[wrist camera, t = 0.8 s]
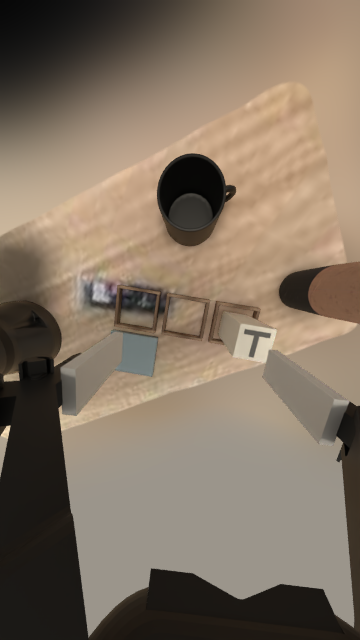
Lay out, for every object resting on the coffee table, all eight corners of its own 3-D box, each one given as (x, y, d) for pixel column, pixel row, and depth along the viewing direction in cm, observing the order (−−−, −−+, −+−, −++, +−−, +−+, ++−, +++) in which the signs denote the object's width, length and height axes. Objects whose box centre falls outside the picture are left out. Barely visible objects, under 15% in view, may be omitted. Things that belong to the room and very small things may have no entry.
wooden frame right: (208, 340, 36) (209, 342, 34) (216, 301, 34) (217, 301, 33) (247, 346, 36) (249, 349, 34) (257, 307, 34) (260, 308, 33)
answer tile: (110, 366, 38) (108, 369, 37) (113, 329, 36) (111, 330, 35) (153, 374, 38) (152, 376, 37) (158, 337, 36) (157, 338, 35)
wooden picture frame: (117, 324, 36) (114, 326, 35) (120, 285, 34) (117, 284, 33) (155, 331, 36) (154, 333, 35) (161, 291, 34) (159, 292, 33)
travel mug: (292, 262, 32) (457, 226, 12) (325, 281, 32) (535, 275, 13) (269, 297, 34) (384, 314, 14) (301, 315, 34) (456, 356, 14)
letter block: (217, 334, 36) (232, 358, 24) (222, 310, 35) (241, 323, 23) (241, 338, 36) (267, 364, 24) (246, 314, 34) (277, 329, 23)
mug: (234, 232, 32) (252, 211, 23) (174, 253, 33) (169, 241, 24) (221, 177, 30) (236, 132, 21) (158, 202, 31) (147, 168, 22)
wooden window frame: (162, 332, 36) (161, 334, 35) (168, 293, 34) (167, 293, 33) (201, 338, 36) (201, 341, 34) (209, 299, 34) (210, 300, 33)
